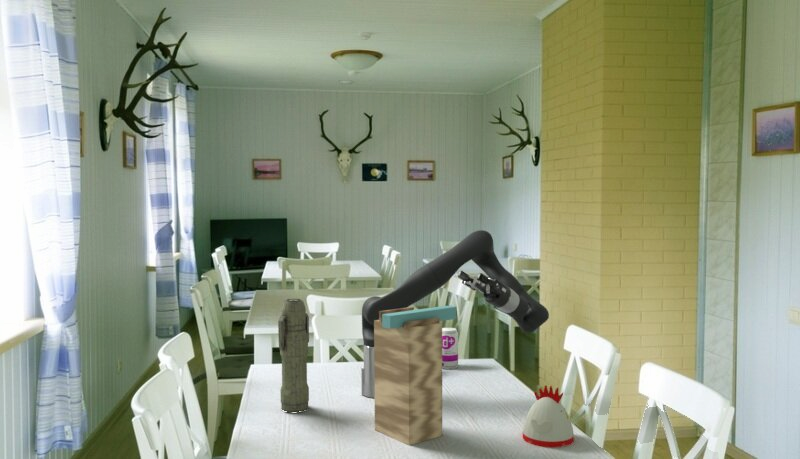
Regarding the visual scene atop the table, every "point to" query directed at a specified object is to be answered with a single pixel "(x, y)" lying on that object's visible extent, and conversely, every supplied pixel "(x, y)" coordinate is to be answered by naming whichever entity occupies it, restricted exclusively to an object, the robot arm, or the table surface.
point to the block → (418, 316)
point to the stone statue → (294, 355)
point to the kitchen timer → (548, 421)
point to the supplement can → (449, 348)
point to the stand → (408, 379)
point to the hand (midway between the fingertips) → (469, 274)
